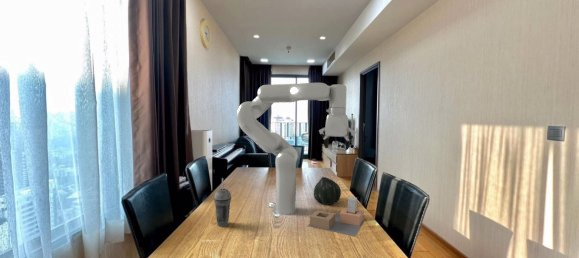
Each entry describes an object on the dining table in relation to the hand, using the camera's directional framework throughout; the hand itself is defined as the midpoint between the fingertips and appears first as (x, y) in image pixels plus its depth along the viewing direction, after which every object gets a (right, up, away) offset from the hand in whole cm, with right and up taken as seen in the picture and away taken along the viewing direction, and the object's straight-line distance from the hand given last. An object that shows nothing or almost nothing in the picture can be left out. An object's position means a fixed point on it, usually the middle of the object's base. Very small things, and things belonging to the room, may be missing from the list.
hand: (336, 148), depth 125 cm
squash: (-1, -31, +22) cm, 39 cm away
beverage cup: (-51, -32, -9) cm, 61 cm away
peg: (+6, -31, -6) cm, 32 cm away
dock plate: (-1, -33, -8) cm, 34 cm away
